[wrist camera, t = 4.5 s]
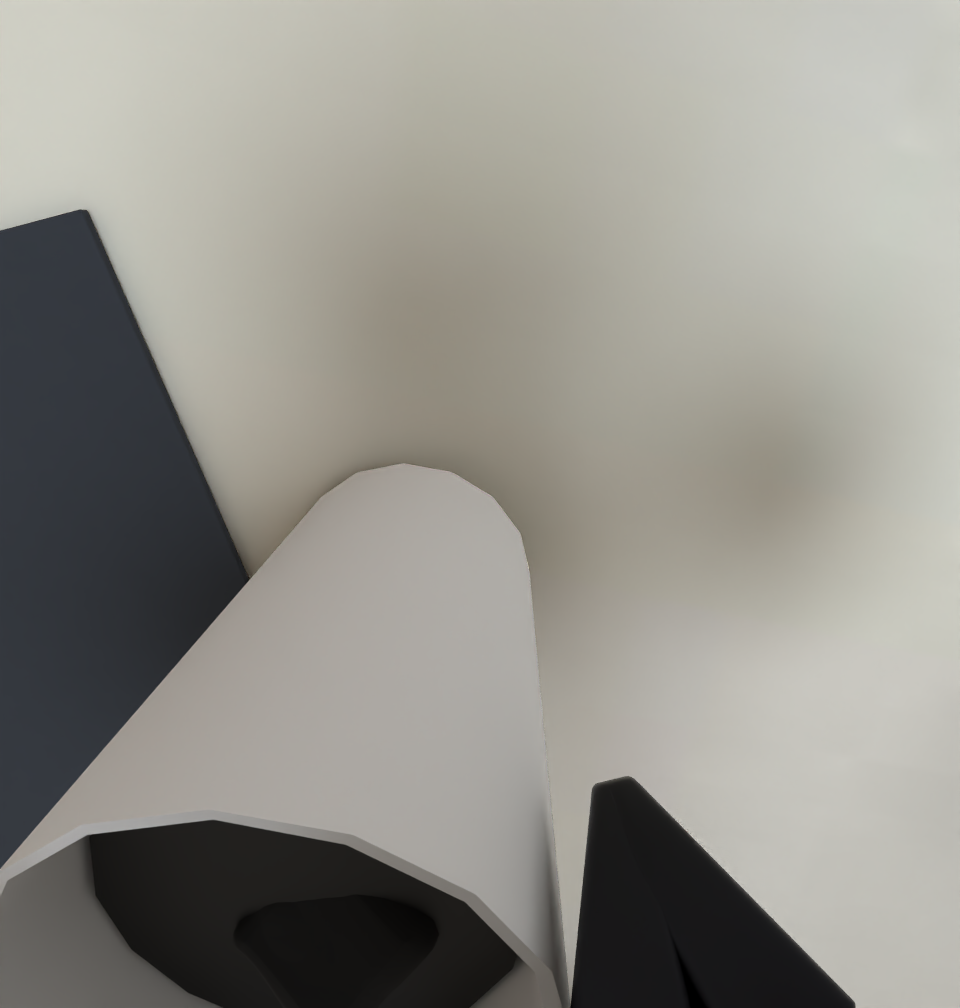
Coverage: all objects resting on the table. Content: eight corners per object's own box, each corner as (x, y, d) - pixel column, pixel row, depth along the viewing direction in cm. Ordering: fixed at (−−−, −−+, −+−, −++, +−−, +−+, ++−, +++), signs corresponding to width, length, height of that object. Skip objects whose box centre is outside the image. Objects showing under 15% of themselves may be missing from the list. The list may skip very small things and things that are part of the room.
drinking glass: (605, 574, 16) (707, 1055, 7) (424, 722, 18) (322, 1232, 9) (396, 385, 15) (176, 685, 5) (226, 571, 17) (-132, 1006, 8)
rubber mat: (374, 864, 20) (374, 873, 20) (26, 961, 20) (22, 972, 20) (87, 209, 13) (81, 209, 13) (-459, 354, 13) (-478, 357, 13)
